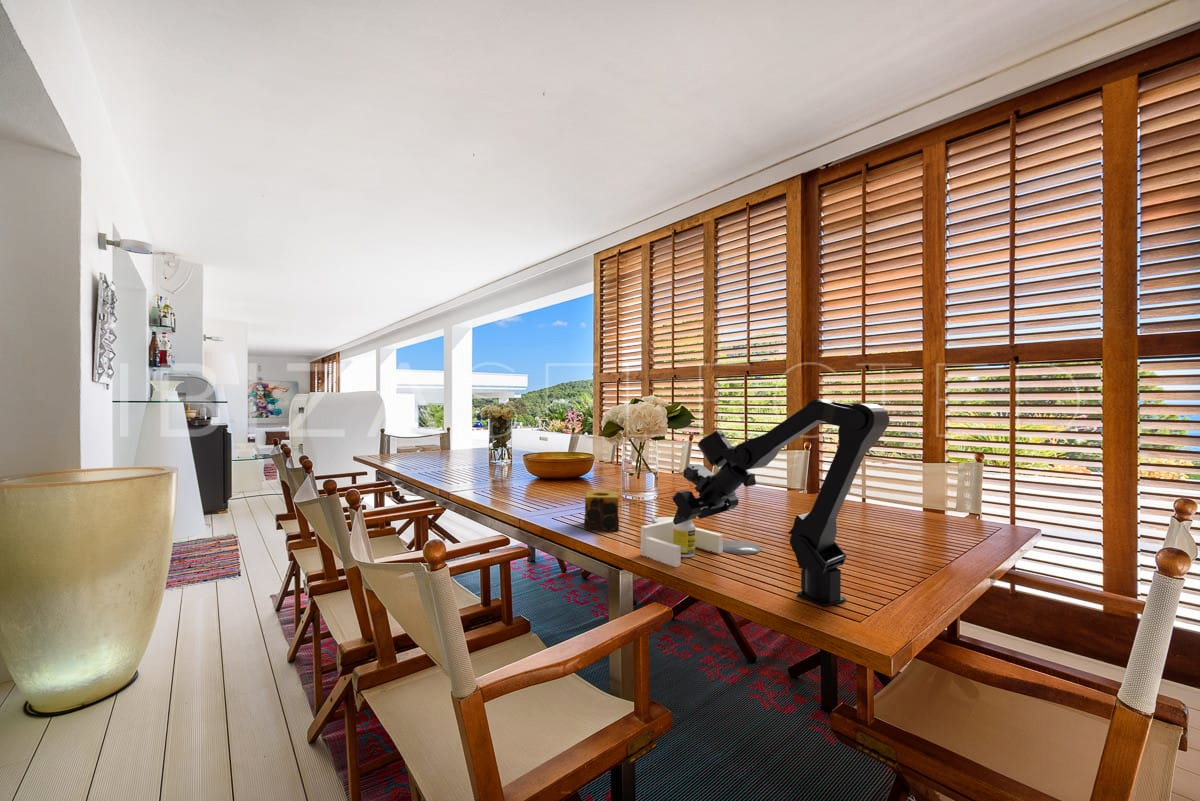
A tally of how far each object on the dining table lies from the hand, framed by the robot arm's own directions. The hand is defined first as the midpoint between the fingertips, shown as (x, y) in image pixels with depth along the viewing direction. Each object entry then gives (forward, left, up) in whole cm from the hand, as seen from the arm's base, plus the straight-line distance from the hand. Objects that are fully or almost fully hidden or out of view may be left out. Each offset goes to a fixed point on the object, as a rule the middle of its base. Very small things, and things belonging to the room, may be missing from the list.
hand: (686, 520), depth 123 cm
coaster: (-1, -16, -9) cm, 18 cm away
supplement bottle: (+1, 0, -9) cm, 9 cm away
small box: (+14, -5, -9) cm, 18 cm away
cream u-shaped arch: (+1, 0, -9) cm, 9 cm away
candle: (+33, +6, -9) cm, 35 cm away
